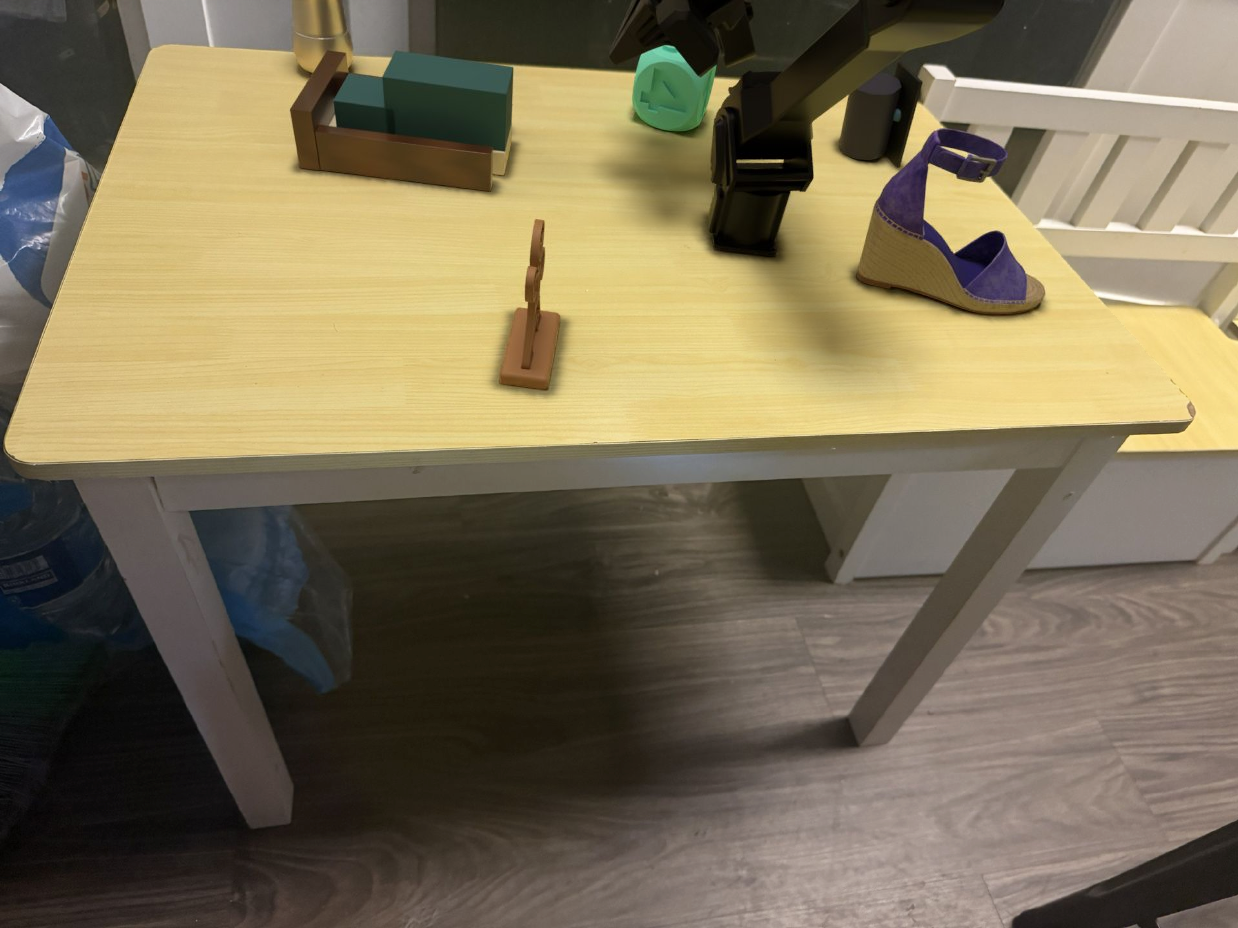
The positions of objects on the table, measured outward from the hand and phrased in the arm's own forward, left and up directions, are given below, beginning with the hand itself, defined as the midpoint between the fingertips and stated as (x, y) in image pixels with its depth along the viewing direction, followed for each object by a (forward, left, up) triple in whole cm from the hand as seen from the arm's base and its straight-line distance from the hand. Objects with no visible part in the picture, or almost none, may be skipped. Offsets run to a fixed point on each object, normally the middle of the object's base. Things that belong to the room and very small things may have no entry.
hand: (611, 60), depth 81 cm
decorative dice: (-8, -15, -12) cm, 21 cm away
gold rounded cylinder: (+33, -15, -12) cm, 38 cm away
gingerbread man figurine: (+5, +31, -12) cm, 34 cm away
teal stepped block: (+19, 0, -12) cm, 22 cm away
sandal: (-36, +14, -12) cm, 40 cm away
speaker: (-32, -12, -12) cm, 36 cm away
